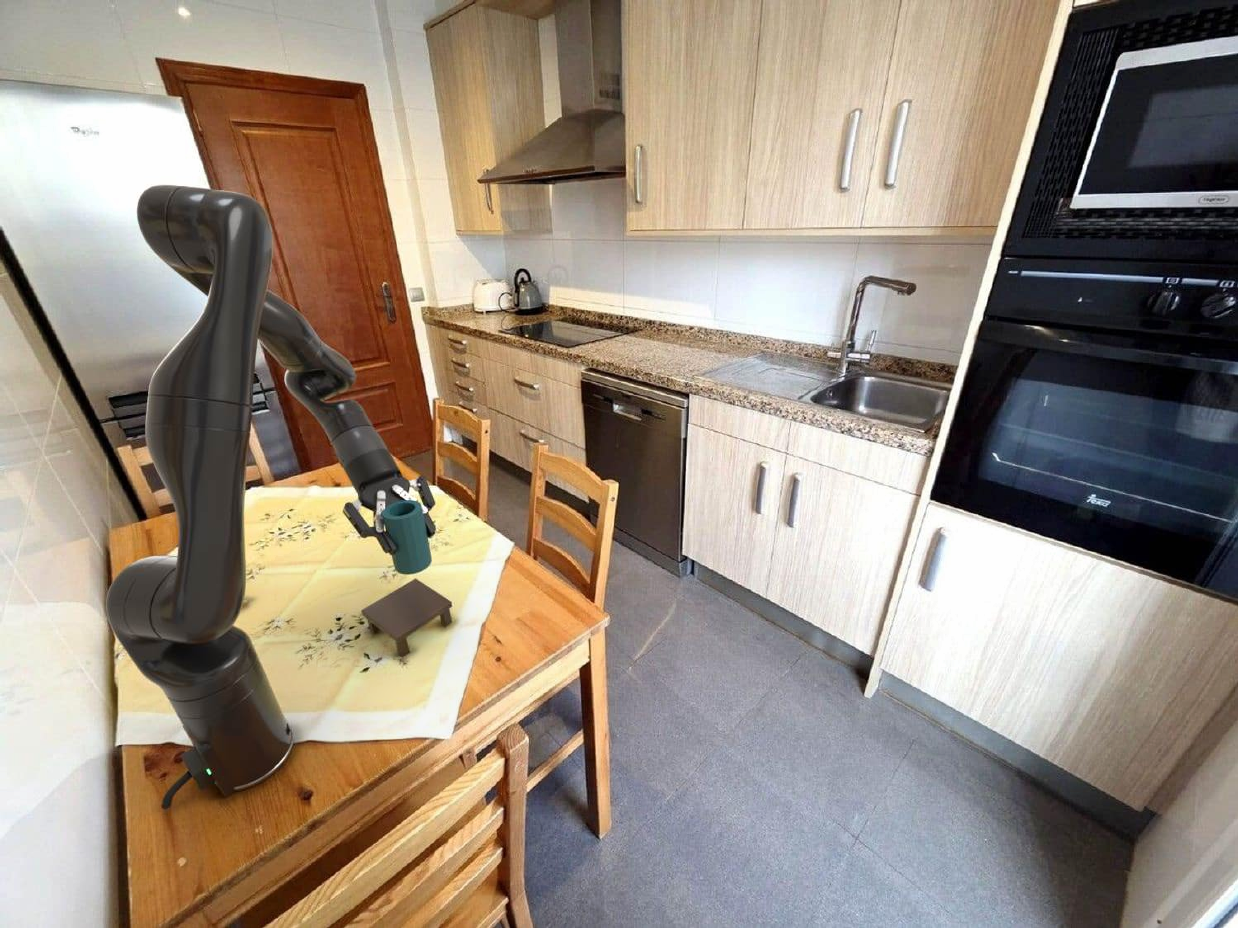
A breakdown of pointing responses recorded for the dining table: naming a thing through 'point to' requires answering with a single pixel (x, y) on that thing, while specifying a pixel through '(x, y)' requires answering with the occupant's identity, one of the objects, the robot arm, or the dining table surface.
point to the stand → (407, 612)
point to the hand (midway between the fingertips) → (413, 543)
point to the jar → (408, 536)
